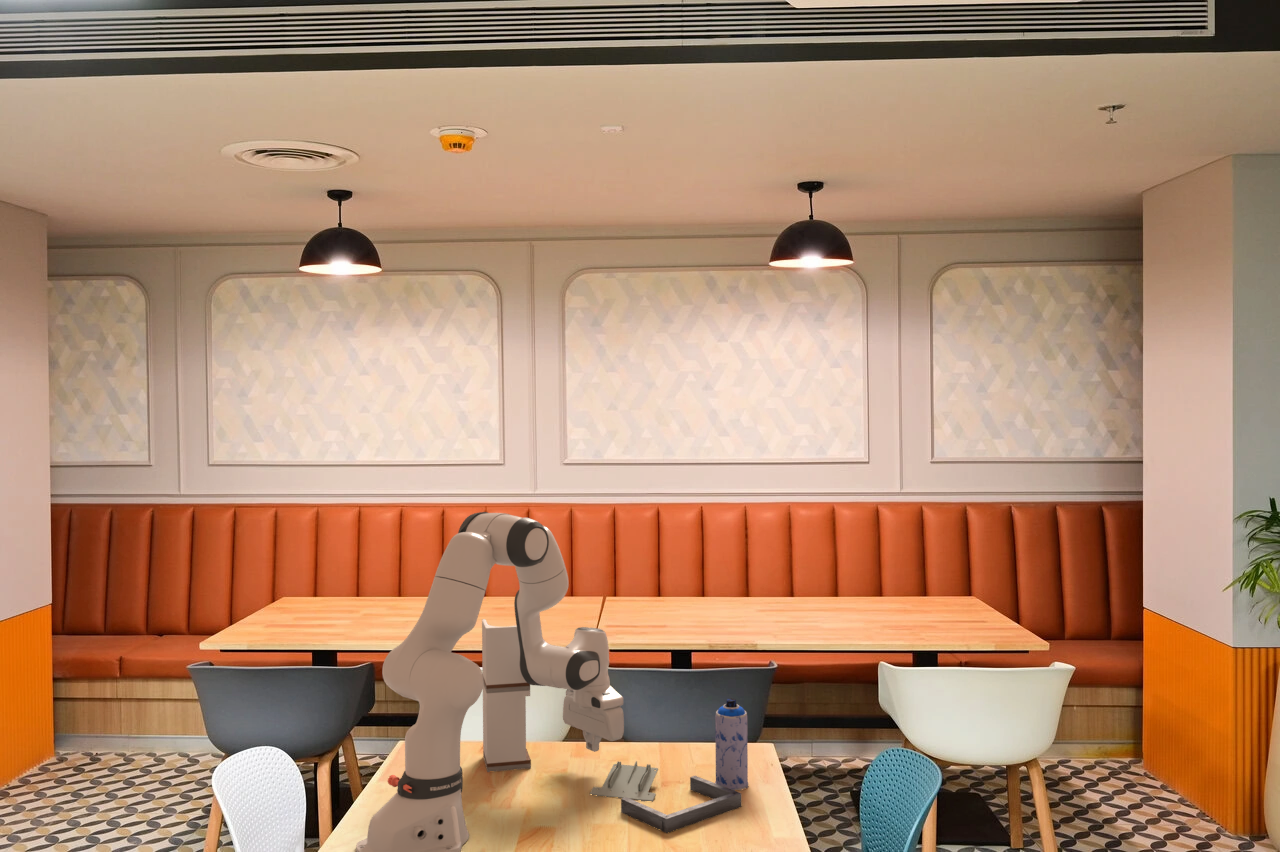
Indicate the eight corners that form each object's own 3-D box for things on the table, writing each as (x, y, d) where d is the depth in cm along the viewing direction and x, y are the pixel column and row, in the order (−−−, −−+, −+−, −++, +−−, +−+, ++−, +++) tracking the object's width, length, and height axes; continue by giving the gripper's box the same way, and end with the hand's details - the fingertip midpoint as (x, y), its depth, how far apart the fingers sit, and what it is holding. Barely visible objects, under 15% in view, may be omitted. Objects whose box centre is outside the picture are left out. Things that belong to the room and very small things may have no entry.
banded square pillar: (530, 768, 256) (529, 625, 256) (487, 772, 254) (485, 628, 254) (525, 753, 268) (523, 617, 267) (483, 757, 265) (481, 619, 265)
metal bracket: (606, 754, 250) (666, 760, 245) (608, 775, 251) (668, 781, 247) (586, 791, 237) (650, 798, 232) (589, 813, 238) (652, 820, 234)
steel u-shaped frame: (666, 833, 216) (666, 818, 216) (621, 812, 228) (621, 798, 228) (741, 806, 230) (741, 793, 230) (695, 788, 242) (695, 775, 242)
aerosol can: (755, 785, 243) (755, 700, 243) (731, 793, 238) (731, 706, 238) (731, 776, 250) (731, 693, 249) (707, 784, 245) (707, 699, 244)
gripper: (556, 687, 260) (557, 742, 260) (607, 704, 244) (608, 763, 244) (576, 682, 264) (577, 736, 264) (627, 699, 248) (629, 757, 249)
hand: (592, 749), depth 254 cm, fingers closed
